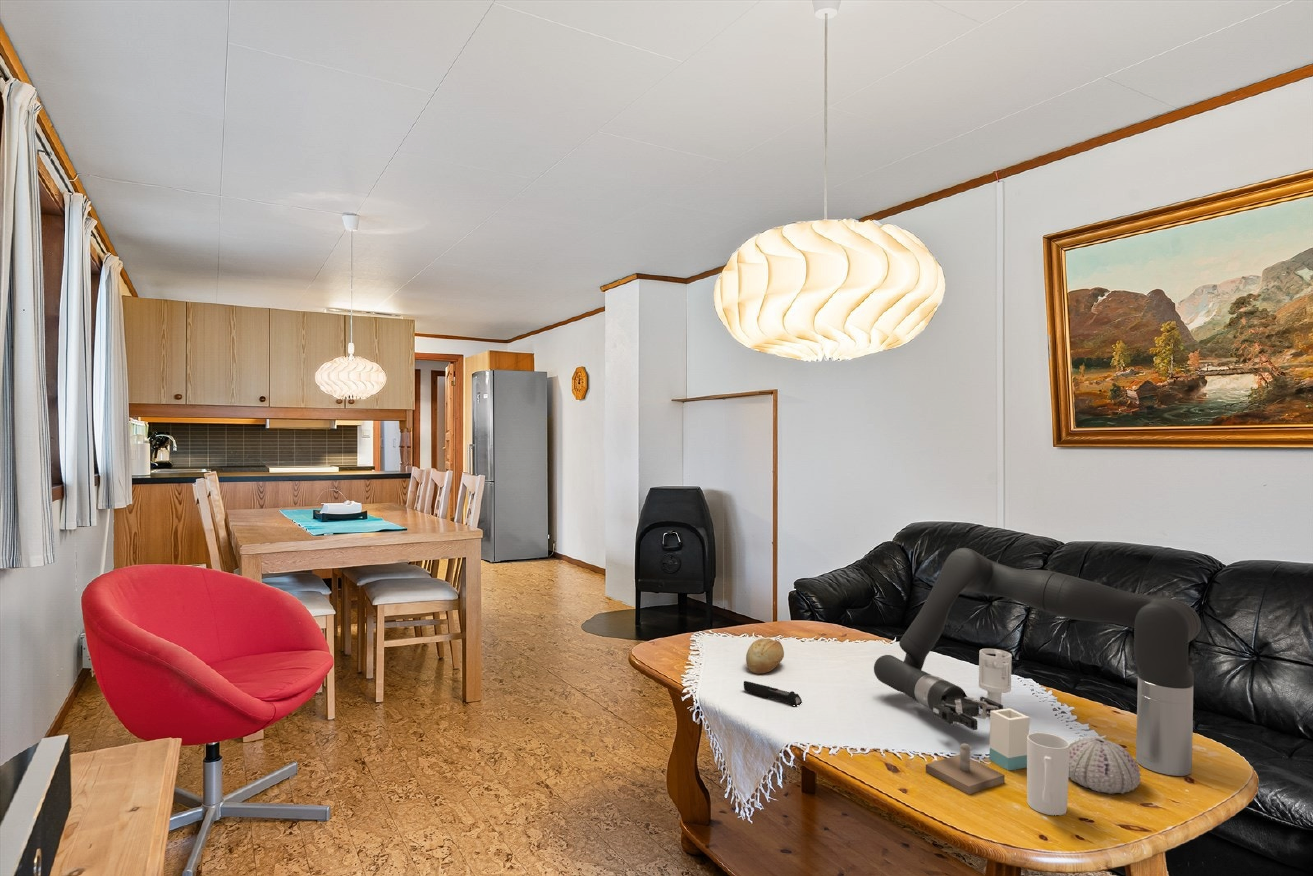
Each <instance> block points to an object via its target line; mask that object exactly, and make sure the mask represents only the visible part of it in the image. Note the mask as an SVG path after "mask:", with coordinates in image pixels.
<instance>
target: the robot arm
mask: <svg viewBox="0 0 1313 876" xmlns="http://www.w3.org/2000/svg"><path fill="white" fill-rule="evenodd" d="M963 590H966V591H969V592H974V593H978V594H979V593H980V594H985V595H992V596H996V597H1002V598H1006V599H1010V600H1013V601H1016V602H1017V603H1019V604H1021V605H1022V604H1023V605H1026V606H1027V607H1031V608H1033V609H1036V610H1039V611H1042V612H1046V613H1049V614H1052V615H1055V616H1059V617H1061V618H1062V617H1063V618H1066V619H1070V620H1071V619H1072V620H1077V621H1078V620H1079V621H1085V622H1092V623H1093V622H1096V623H1097V622H1098V623H1107V624H1115V625H1121V626H1125V627H1128V628H1132V629H1133V630H1134V631H1133V632H1134V633H1133V634H1134V636H1133V637H1134V638H1133V639H1134V640H1133V641H1134V644H1133V645H1134V650H1133V651H1134V661H1135V665H1136V667H1137V700H1136V701H1137V702H1136V703H1137V707H1136V708H1137V709H1136V737H1135V738H1136V740H1135V743H1136V745H1135V761H1136V763H1137V764H1138V765H1140V766H1141V767H1143V768H1145V769H1147V770H1149V771H1153V772H1155V773H1159V774H1162V775H1168V776H1175V777H1183V776H1189V775H1191V774H1192V767H1193V741H1194V740H1193V733H1194V732H1193V730H1194V720H1193V719H1194V717H1193V716H1194V715H1193V713H1194V682H1195V681H1194V678H1195V677H1194V675H1195V674H1194V671H1193V670H1192V669H1191V668H1190V665H1189V643H1190V642H1192V641H1193V640H1194V639H1196V637H1197V636H1198V635H1199V633H1200V631H1201V629H1202V621H1201V618H1200V616H1199V615H1198V613H1197V611H1195V609H1194V608H1193V607H1192V606H1190V605H1188V604H1187V603H1185V602H1183V601H1181V600H1178V599H1175V598H1172V597H1170V598H1169V597H1162V596H1156V595H1148V594H1142V593H1137V592H1130V591H1126V590H1121V589H1118V588H1116V587H1111V586H1109V585H1105V584H1102V583H1099V582H1095V581H1091V580H1087V579H1083V578H1080V577H1077V576H1073V575H1068V574H1065V573H1061V572H1057V571H1051V570H1047V569H1045V570H1044V569H1019V568H1015V567H1011V566H1007V565H1005V564H1001V563H999V562H995V561H993V560H991V559H988V558H987V557H985V556H983V555H982V554H980V553H978V552H977V551H975V550H973V549H971V548H967V547H959V548H956V549H955V550H953V551H952V552H951V553H950V554H949V555H948V556H947V558H946V559H945V562H944V563H943V565H942V568H941V570H940V572H939V574H938V575H937V578H936V580H935V583H934V584H933V586H932V589H931V590H930V591H929V594H928V596H927V598H926V600H925V601H924V603H923V605H922V608H921V609H920V610H919V612H918V613H917V615H916V617H915V618H914V620H913V621H912V622H911V624H910V625H909V627H908V628H907V630H906V631H905V632H904V634H903V635H902V637H901V638H900V640H899V647H900V649H901V650H902V651H903V652H904V653H905V657H904V660H903V661H902V660H901V659H899V658H897V657H896V656H894V655H891V654H884V655H881V656H879V657H878V658H877V659H876V660H875V662H874V664H873V673H874V676H875V677H876V679H878V681H879V682H881V683H883V684H884V685H886V686H888V687H889V688H892V690H893V689H894V690H895V691H897V692H899V693H903V694H905V696H908V698H910V699H912V700H914V701H915V702H917V703H919V704H921V705H922V706H923V707H925V708H927V709H928V710H930V711H932V715H933V716H935V717H937V718H938V719H939V720H941V721H943V722H945V723H946V724H948V725H954V723H956V724H957V725H959V726H960V725H963V726H964V727H966V728H969V729H970V730H972V731H976V730H978V727H979V726H978V723H979V722H978V720H977V719H981V720H982V719H983V720H985V719H987V718H988V719H990V711H993V710H1001V709H1004V705H1003V704H1002V703H1001V704H999V703H997V702H994V701H992V700H990V699H988V698H987V697H985V696H980V697H979V700H978V699H974V698H973V697H968V695H967V693H966V691H964V689H963V688H962V687H960V686H959V685H956V684H954V683H952V682H950V681H948V680H946V679H944V678H942V677H939V676H936V675H933V674H931V673H928V672H926V671H924V670H923V667H924V664H925V661H926V658H927V656H928V655H929V653H930V652H931V650H932V649H933V647H934V646H935V645H936V643H937V642H938V641H939V639H940V637H941V636H942V634H943V631H944V629H945V626H946V622H947V619H948V617H949V613H950V610H951V608H952V606H953V604H954V602H955V601H956V599H957V597H958V596H959V595H960V594H961V593H962V592H963ZM980 710H981V711H982V713H980Z"/></svg>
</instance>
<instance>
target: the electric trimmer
mask: <svg viewBox="0 0 1313 876" xmlns="http://www.w3.org/2000/svg"><path fill="white" fill-rule="evenodd" d="M743 689H744V691H745V692H748V693H751V694H752V695H755V696H757V697H761V698H762V699H771V700H776V701H779V702H782V703H784V704H789V705H791V706H792V705H795V706H797V705H799V706H801V705H802V704H803V700H802V698H801V696H800V695H799V694H798V693H796V692H795V691H786V690H782V689H778V687H777V688H776V687H772V686H770V685H769V686H768V685H766V684H760V683H755V682H751V681H747V680H744V681H743ZM801 703H802V704H801ZM800 704H801V705H800Z"/></svg>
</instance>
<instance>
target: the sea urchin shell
mask: <svg viewBox="0 0 1313 876" xmlns="http://www.w3.org/2000/svg"><path fill="white" fill-rule="evenodd" d="M1140 771H1141V770H1140V768H1139V764H1138V762H1137V761H1136V759H1135V758H1134V757H1133V756H1132V755H1131V754H1130V753H1129V752H1128V750H1126V749H1125V748H1124V747H1122V746H1121V745H1120V744H1118V743H1116V742H1113V741H1110V740H1107V739H1105V738H1101V737H1098V736H1092V737H1086V738H1085V737H1082V738H1079V739H1077V740H1074V741H1073V742H1071V743H1070V757H1069V777H1068V778H1070V780H1071V781H1073V782H1074V783H1077V784H1078V785H1080V786H1083V787H1085V788H1089V789H1091V790H1092V791H1096V792H1098V793H1106V794H1112V795H1113V794H1116V793H1118V794H1126V793H1129V792H1132V791H1134V790H1135V789H1136V788H1138V786H1139V785H1140V781H1141V776H1142V774H1141V772H1140Z"/></svg>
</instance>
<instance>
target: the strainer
mask: <svg viewBox="0 0 1313 876" xmlns="http://www.w3.org/2000/svg"><path fill="white" fill-rule="evenodd" d="M978 654H979V657H978V658H979V659H978V687H979V689H982V690H984V691H987V695H986V696H987V697H986V698H988V699H990V700H992V701H994V702H997V703H999V704H1001V705H1002V699H1003V698H1002V697H1003V696H1002V694H1006V693H1007V694H1008V693H1010V692H1011V691H1012V657H1013V655H1012V653H1011V652H1008V651H1005V650H1003V649H997V648H982V649H980V650H979V653H978ZM994 655H995V656H994Z"/></svg>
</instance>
